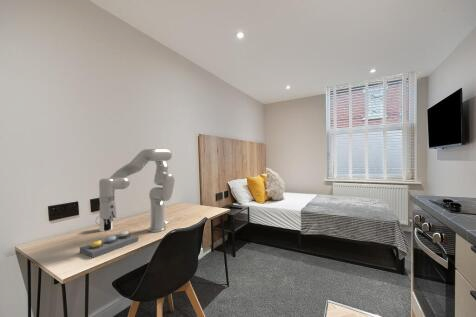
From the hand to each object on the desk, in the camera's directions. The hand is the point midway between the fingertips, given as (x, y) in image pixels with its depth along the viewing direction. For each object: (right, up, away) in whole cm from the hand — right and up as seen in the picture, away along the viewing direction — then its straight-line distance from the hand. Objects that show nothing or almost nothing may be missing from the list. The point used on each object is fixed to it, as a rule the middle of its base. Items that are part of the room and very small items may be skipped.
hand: (107, 229), depth 118 cm
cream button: (+5, -6, +9) cm, 12 cm away
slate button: (+1, -7, +2) cm, 7 cm away
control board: (+1, -11, +2) cm, 11 cm away
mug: (-23, -11, +31) cm, 41 cm away
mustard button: (-3, -7, -5) cm, 9 cm away
